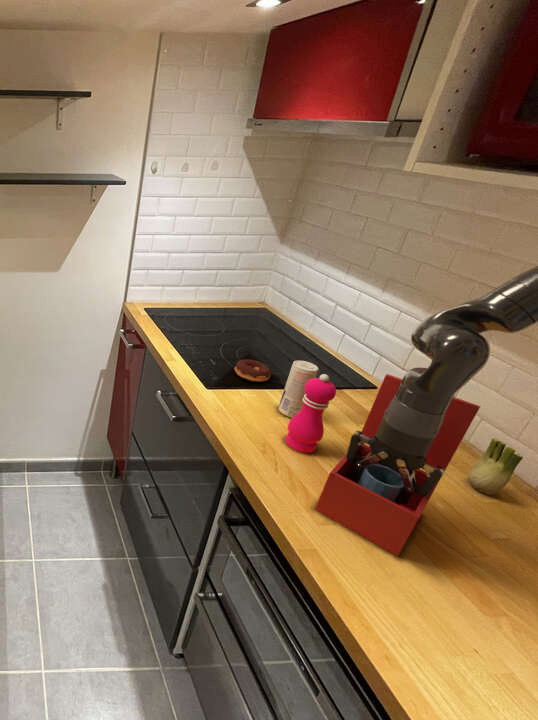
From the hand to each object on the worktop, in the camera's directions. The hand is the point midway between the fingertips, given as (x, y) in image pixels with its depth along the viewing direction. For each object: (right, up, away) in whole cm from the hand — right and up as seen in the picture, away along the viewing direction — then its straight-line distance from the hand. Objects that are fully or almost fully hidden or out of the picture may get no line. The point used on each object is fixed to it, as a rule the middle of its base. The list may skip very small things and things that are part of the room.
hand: (377, 491), depth 88 cm
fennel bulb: (+30, -3, +9) cm, 31 cm away
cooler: (0, -5, +2) cm, 6 cm away
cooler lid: (+6, +13, -1) cm, 15 cm away
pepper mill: (-1, +3, +21) cm, 21 cm away
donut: (+3, +17, +51) cm, 53 cm away
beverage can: (+4, +9, +33) cm, 34 cm away
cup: (0, -3, +2) cm, 4 cm away
